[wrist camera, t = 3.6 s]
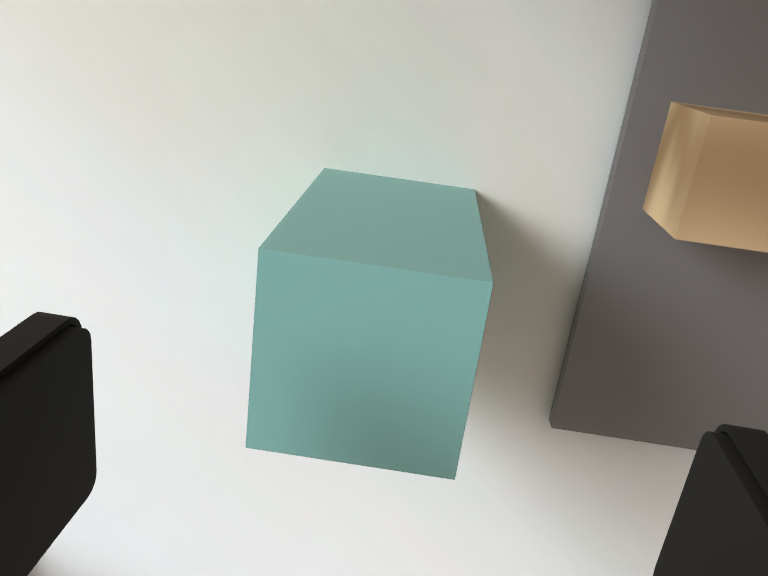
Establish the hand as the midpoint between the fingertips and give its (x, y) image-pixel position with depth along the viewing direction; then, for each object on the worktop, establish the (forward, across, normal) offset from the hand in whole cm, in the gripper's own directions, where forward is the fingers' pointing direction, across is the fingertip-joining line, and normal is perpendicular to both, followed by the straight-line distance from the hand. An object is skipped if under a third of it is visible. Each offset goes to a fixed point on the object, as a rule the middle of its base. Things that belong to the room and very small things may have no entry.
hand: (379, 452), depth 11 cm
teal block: (+11, +1, +1) cm, 11 cm away
